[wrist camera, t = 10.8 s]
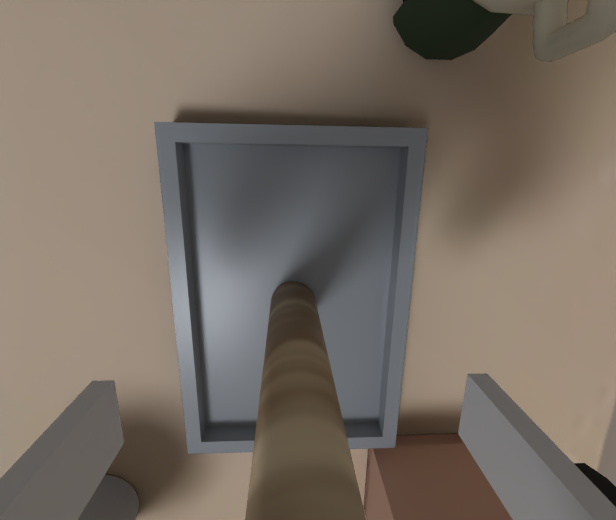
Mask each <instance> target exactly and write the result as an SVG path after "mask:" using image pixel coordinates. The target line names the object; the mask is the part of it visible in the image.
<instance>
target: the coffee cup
mask: <svg viewBox="0 0 616 520" xmlns="http://www.w3.org/2000/svg"><path fill="white" fill-rule="evenodd" d="M138 509H139V500H138V496H137V494H136V492H135V490H134V488H133V487H132V486H131V485H130V484H129V483H128V482H127V481H125V480H123V479H121V478H119V477H116V476H112V475H106V474H105V476H104V477H103V479H102V480H101V482H100V484H99V485H98V487H97V489H96V490H95V492H94V494H93V495H92V497H91V499H90V500H89V502H88V503H87V505H86V507H85V508H84V510H83V512H82V513H81V515H80V517H79V518H78V520H135V519H136V517H137V513H138Z"/></svg>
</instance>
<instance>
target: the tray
mask: <svg viewBox="0 0 616 520" xmlns="http://www.w3.org/2000/svg"><path fill="white" fill-rule="evenodd" d="M154 123H155V133H156V143H157V153H158V163H159V173H160V183H161V193H162V203H163V213H164V223H165V233H166V243H167V253H168V262H169V272H170V282H171V292H172V302H173V312H174V322H175V332H176V342H177V352H178V362H179V372H180V382H181V391H182V401H183V411H184V421H185V431H186V441H187V451H188V454H203V453H236V452H253V450H254V441H255V432H256V424H257V415H258V407H259V398H260V390H261V381H262V373H263V364H264V356H265V347H266V339H267V330H268V322H269V313H270V304H271V297H272V294H273V293H274V291H275V290H276V288H277V287H279V286H280V285H281V284H283V283H286V282H290V281H297V282H301V283H303V284H305V285H307V286H308V287H309V288H310V289H311V290H312V292H313V294H314V296H315V301H316V305H317V309H318V314H319V318H320V322H321V327H322V331H323V335H324V340H325V344H326V348H327V353H328V357H329V361H330V366H331V370H332V375H333V379H334V383H335V388H336V392H337V396H338V401H339V405H340V409H341V414H342V418H343V422H344V427H345V431H346V435H347V440H348V444H349V448H350V449H368V448H395V444H396V434H397V425H398V415H399V405H400V395H401V386H402V376H403V366H404V356H405V347H406V337H407V327H408V318H409V308H410V298H411V288H412V279H413V269H414V259H415V250H416V240H417V230H418V220H419V211H420V201H421V191H422V181H423V172H424V162H425V152H426V143H427V133H428V128H402V127H357V126H312V125H266V124H221V123H175V122H154Z"/></svg>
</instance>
